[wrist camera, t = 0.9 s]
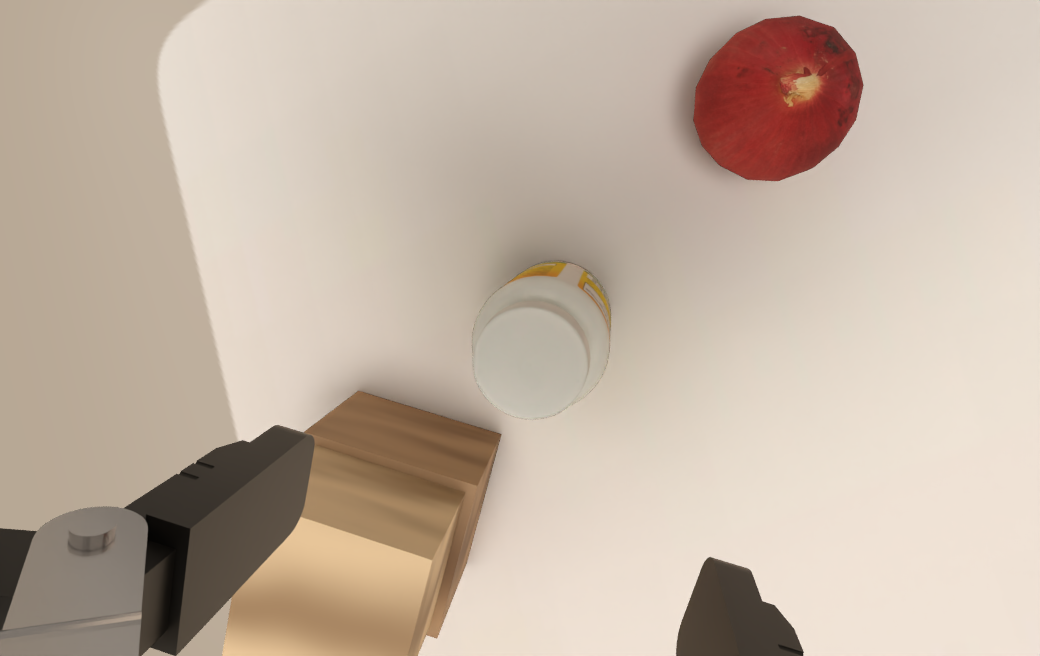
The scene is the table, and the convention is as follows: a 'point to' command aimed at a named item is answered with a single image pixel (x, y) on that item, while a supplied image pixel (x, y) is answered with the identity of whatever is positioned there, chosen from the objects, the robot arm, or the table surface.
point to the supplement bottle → (542, 340)
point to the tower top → (350, 567)
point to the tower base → (418, 463)
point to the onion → (778, 98)
